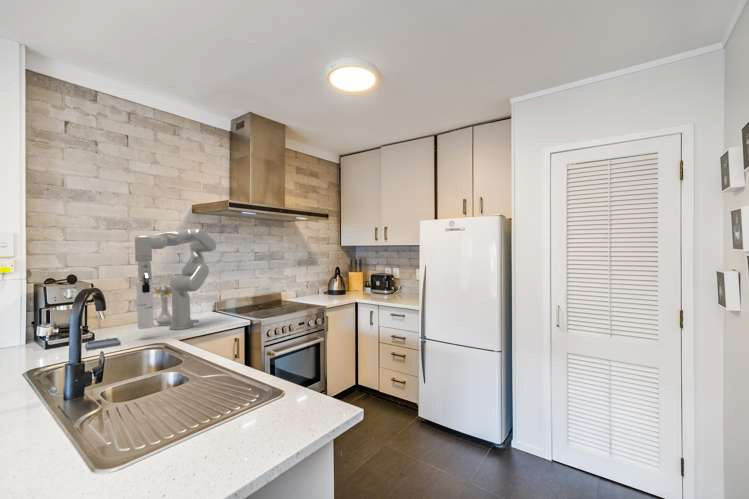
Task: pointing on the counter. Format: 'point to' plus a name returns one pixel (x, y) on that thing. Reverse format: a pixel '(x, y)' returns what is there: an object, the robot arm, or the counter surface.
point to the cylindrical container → (145, 306)
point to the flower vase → (163, 305)
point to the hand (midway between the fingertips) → (144, 291)
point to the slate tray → (102, 343)
